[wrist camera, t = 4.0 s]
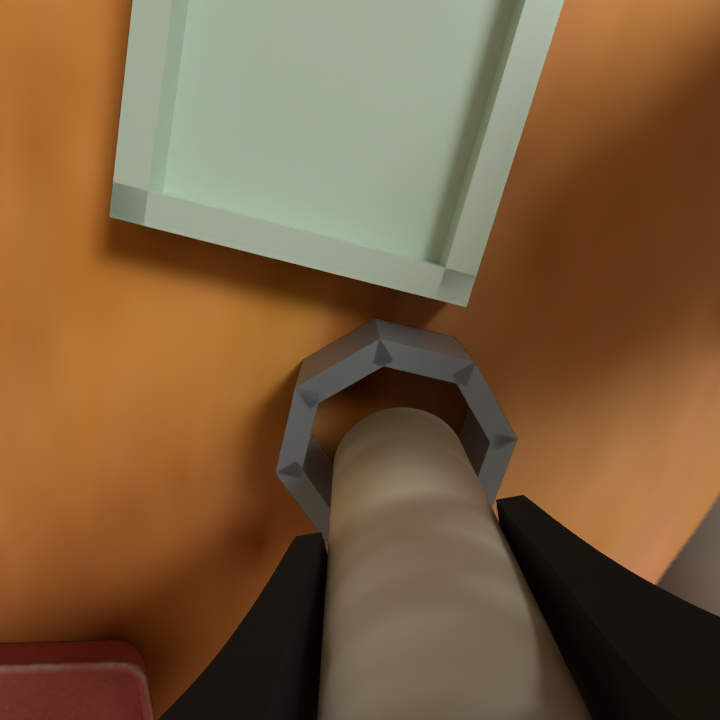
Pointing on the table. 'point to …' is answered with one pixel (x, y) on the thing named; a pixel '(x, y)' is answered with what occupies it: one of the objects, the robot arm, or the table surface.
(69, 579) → the table surface
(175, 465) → the table surface
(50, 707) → the plant saucer
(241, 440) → the table surface
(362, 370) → the octagonal ring
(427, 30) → the tray
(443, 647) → the dowel
